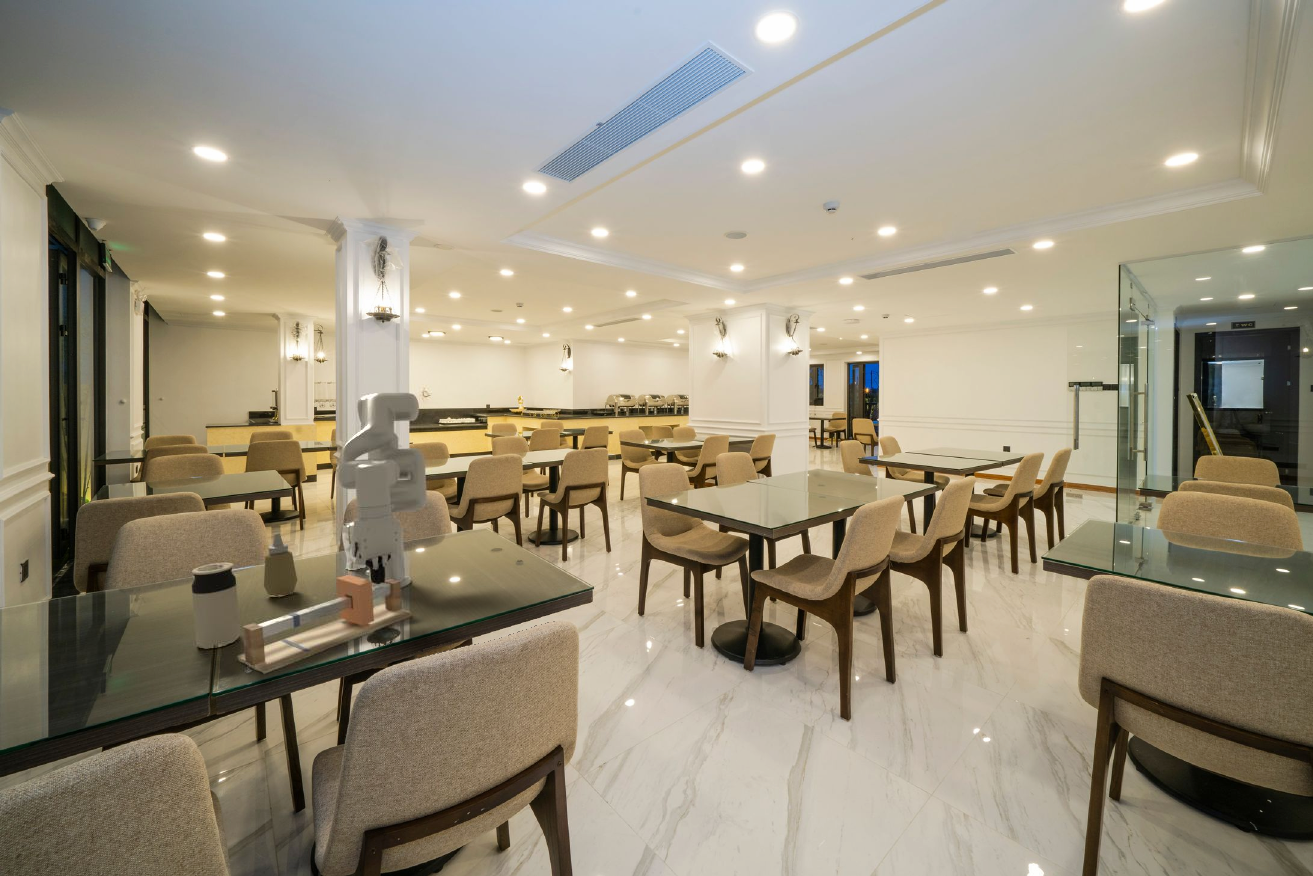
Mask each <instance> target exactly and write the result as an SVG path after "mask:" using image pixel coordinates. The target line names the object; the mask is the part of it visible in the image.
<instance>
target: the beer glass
mask: <svg viewBox="0 0 1313 876" xmlns="http://www.w3.org/2000/svg"><path fill="white" fill-rule="evenodd" d="M353 525H354V521H350V522H345V523H342V532H341V534H342V538H341V539H342V542H343V549H344V552H345V555H346V563H345V564H346V565H345V566H346V567H345V570H346V569H348V570H347V571H349V570H354V571H358V570H357V569H360V568H363V569H366V568H367V567H366V565H357V564H355V560H356V558H355V557H353V556H352V531H353ZM365 567H366V568H365ZM360 570H361V569H360Z"/></svg>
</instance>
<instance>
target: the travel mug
mask: <svg viewBox="0 0 1313 876" xmlns="http://www.w3.org/2000/svg"><path fill="white" fill-rule="evenodd" d="M233 568H234V563H233V562H214V563H211V564H210V563H209V564H204V565H201V566H199V567H195V568H193V569H192V571H191V573H192V574H193V577H194V580H193V582H192V584H191V595H192V605H193V618H194V627H195V639H196V640H195V641H196V646H197V645H201V646H212V645H219V644H221V643H226V642H229V641H230V640H234V639H236V638H237V637H239V636H240V637H241V627H240V626H241V625H240V614H239V602H238V601H239V600H238V590H237V589H238V588H237V587H238V586H237V578H236V576H235V575H234V573H233V572H232V571H233Z"/></svg>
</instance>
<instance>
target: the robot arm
mask: <svg viewBox="0 0 1313 876" xmlns="http://www.w3.org/2000/svg"><path fill="white" fill-rule="evenodd" d="M356 407H357V414H358V418H359V421H360V430H359V432H357V433H355V435H354V436H352V437H351V438H350V439H349V440H348V441H347V442H345V444H344V445H343V447H342V448H341V450H340V452H339V457H338V458H339V459H338V468H337V479H338V483H339V485H340V486H341V487H342V488H343V489H346V490H355V492H356V493H355V494H356V495H355V496H356V507H357V508H356V510H357V518H355V519H354V520H353V522H354V525H353V531H352V556H353V557H355V558H356V560H355V564H357V565H366V566H367V567H366V568H368V570H366V571H365V576H366V575H367V576H368V580H369V581H372V587H375V586H378V585H381V584H384V582H385V581H386V580H389V579H393V580H397V581H400V583H401V589H402V588H405V587H406V586H408V585H410V584H411V582H412V581H411V580H412V579H411V576H410V575H407V574H406V573H405V569H406V568H405V555H404V552H405V551H404V549H405V548H404V532H403V525H402V523H401V521H400V520H399V519H398V518H397V517H396V516H395V515H394V514H393V513H399V512H400V513H402V512H413V511H418V510H419V511H420V510H421V509H424V508H425V506H426V503H427V477H426V476H427V475H426V474H427V473H426V462H425V456H424V454H423V452H422V451H421V450H420V449H418V448H413V447H411V448H410V447H409V448H399V437H398V435H397V433H395V422H406V421H407V422H409V421H410V422H413V421H416V420H417V418H418V416H419V413H420V405H419V401H418V398H417V396H416V395H415V394H414V393H409V392H379V393H378V392H377V393H372V394H369V395H365V396H362V397H360V398H359V399H358V401H357V406H356ZM365 454H367V459H358V458H360V457H361V456H363V455H365Z"/></svg>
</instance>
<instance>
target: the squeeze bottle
mask: <svg viewBox="0 0 1313 876" xmlns="http://www.w3.org/2000/svg"><path fill="white" fill-rule="evenodd" d="M272 542H273V543H272V545H270V546H269V547H268V549H267V550H268V554H266V556H264V557H265V558H264V571H263V572H264V573H263V574H264V575H263V576H264V578H263V588H264V589H265V591H266V593H267V595H268V594H269V595H275V596H278V595H286V594H290V593H292V592H293V591H295V589H296V585H297V582H298V576H297V572H296V567H295V561H294V556H293V552H292V551H290V550H289V545H288V544H286V543H284V542H283V539H282V535H281V533H280V532H276V533H274V536H273V541H272ZM293 593H294V592H293ZM293 593H292V594H293ZM269 595H268V596H269ZM290 595H291V594H290Z"/></svg>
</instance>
